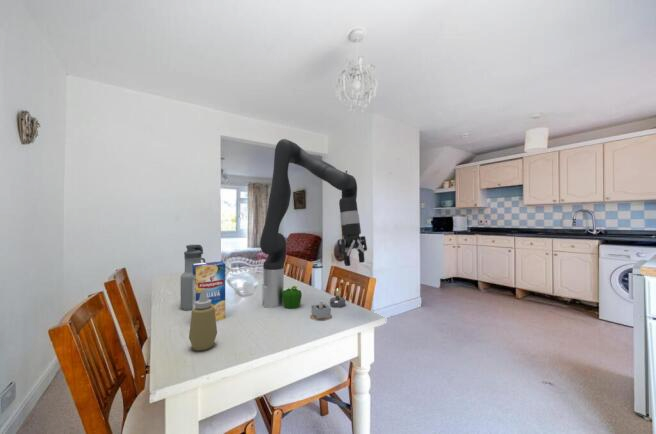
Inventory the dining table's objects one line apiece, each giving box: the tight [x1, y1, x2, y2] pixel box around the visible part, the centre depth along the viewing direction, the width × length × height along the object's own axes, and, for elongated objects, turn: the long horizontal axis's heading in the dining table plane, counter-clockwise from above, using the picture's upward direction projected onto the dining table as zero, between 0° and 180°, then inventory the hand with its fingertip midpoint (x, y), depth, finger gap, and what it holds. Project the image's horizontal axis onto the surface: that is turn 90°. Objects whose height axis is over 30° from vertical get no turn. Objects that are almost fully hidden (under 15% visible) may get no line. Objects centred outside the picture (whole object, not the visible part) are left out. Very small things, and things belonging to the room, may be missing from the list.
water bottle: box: [180, 244, 206, 311], centre depth 120 cm, size 10×10×28 cm
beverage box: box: [191, 261, 226, 321], centre depth 106 cm, size 7×11×22 cm, turn 127°
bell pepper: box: [282, 285, 302, 310], centre depth 119 cm, size 8×8×10 cm
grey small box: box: [311, 303, 332, 321], centre depth 108 cm, size 6×6×4 cm
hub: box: [329, 287, 346, 309], centre depth 121 cm, size 10×10×8 cm
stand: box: [309, 301, 333, 322], centre depth 108 cm, size 9×9×6 cm
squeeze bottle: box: [188, 289, 218, 352], centre depth 84 cm, size 8×8×18 cm
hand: (355, 264), depth 104 cm, fingers open, 8 cm apart
